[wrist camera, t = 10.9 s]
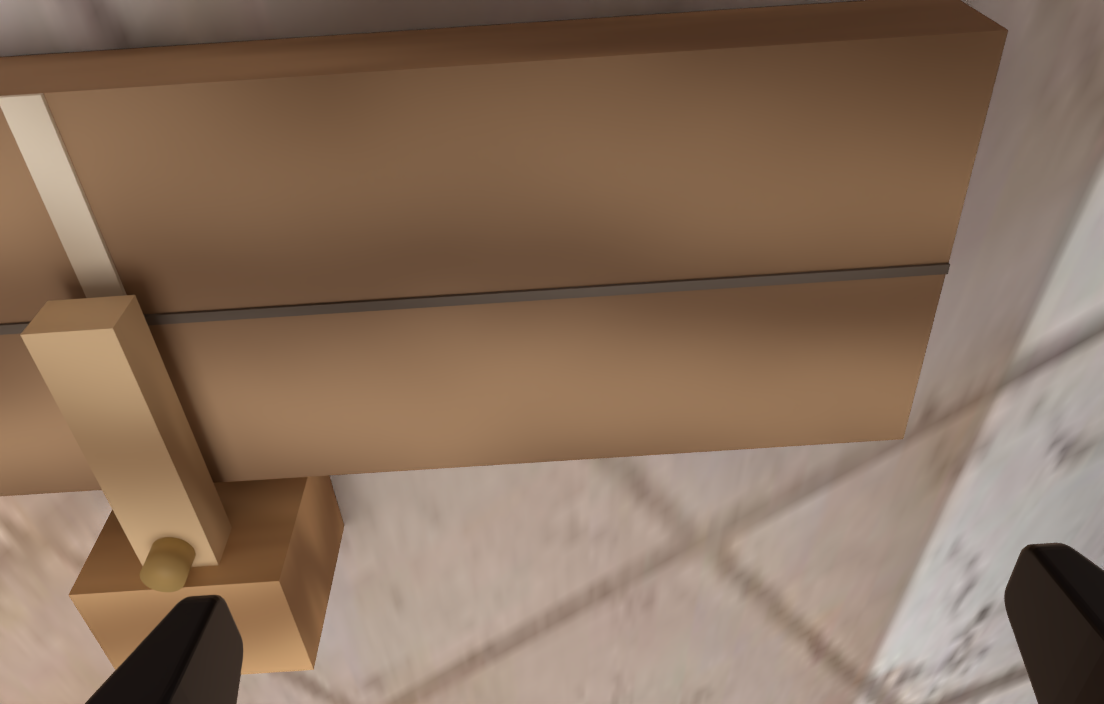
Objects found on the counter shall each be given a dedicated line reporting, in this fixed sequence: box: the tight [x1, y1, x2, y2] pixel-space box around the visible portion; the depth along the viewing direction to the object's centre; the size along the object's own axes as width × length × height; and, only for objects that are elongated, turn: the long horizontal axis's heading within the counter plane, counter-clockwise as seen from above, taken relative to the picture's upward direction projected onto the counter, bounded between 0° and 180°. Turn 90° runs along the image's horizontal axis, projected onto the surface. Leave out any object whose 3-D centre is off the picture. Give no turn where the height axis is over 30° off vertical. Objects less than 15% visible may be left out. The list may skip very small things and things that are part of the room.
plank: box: [0, 0, 1008, 496], centre depth 19 cm, size 10×26×3 cm, turn 93°
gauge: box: [20, 295, 344, 674], centre depth 21 cm, size 11×5×5 cm, turn 3°
